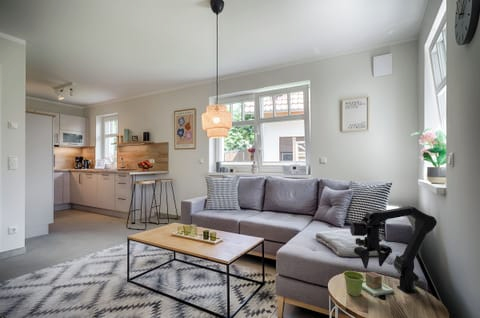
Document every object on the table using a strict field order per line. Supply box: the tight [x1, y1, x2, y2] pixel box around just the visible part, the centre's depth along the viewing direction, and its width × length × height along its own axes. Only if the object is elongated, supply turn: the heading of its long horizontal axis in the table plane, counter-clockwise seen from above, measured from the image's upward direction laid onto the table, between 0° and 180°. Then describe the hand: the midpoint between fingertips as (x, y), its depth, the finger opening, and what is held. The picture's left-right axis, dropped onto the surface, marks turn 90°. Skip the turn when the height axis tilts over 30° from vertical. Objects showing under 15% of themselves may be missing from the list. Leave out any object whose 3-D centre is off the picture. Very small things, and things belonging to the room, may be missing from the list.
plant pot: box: [342, 270, 366, 297], centre depth 118 cm, size 9×9×9 cm
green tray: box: [361, 278, 394, 297], centre depth 122 cm, size 12×12×2 cm
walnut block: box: [365, 271, 383, 290], centre depth 122 cm, size 5×5×6 cm
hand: (373, 267), depth 123 cm, fingers open, 9 cm apart
